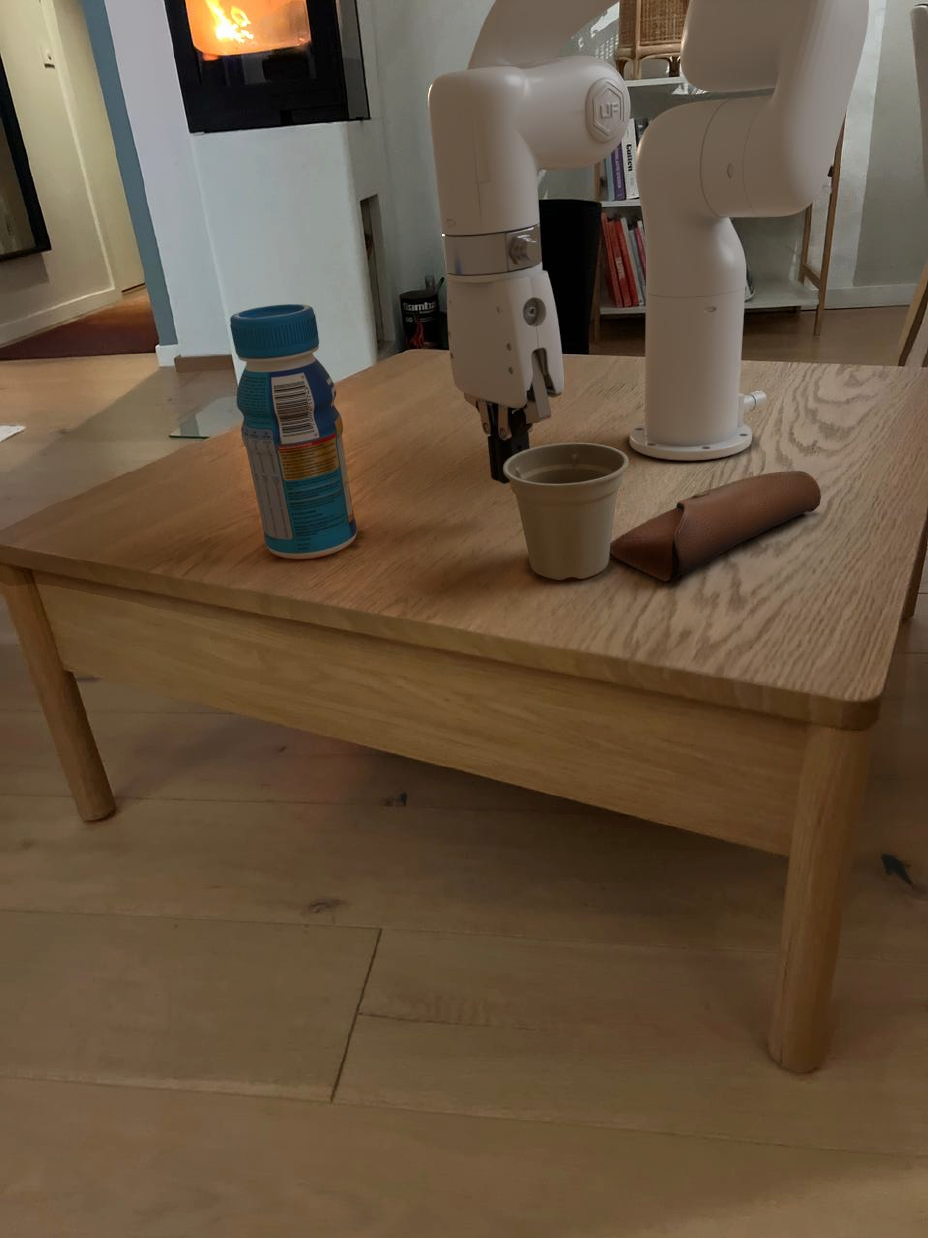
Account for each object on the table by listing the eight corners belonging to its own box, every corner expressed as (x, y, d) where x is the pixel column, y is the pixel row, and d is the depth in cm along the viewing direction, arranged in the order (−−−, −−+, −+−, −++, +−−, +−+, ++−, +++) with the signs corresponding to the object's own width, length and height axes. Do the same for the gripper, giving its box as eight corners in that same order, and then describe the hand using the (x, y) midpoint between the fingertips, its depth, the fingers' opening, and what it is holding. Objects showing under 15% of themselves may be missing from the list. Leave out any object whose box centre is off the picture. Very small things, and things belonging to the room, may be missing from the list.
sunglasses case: (737, 487, 82) (774, 433, 77) (791, 541, 80) (834, 489, 74) (597, 550, 73) (629, 493, 68) (654, 614, 70) (691, 559, 65)
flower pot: (609, 598, 67) (608, 487, 63) (492, 584, 71) (483, 479, 66) (642, 546, 74) (642, 445, 70) (534, 537, 78) (528, 439, 74)
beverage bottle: (247, 558, 79) (195, 322, 70) (295, 521, 86) (255, 302, 76) (331, 566, 76) (290, 320, 67) (375, 527, 83) (343, 299, 73)
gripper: (594, 250, 66) (601, 486, 75) (476, 241, 77) (495, 447, 86) (512, 269, 63) (530, 513, 72) (402, 257, 74) (429, 469, 83)
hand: (511, 476), depth 79 cm, fingers closed
